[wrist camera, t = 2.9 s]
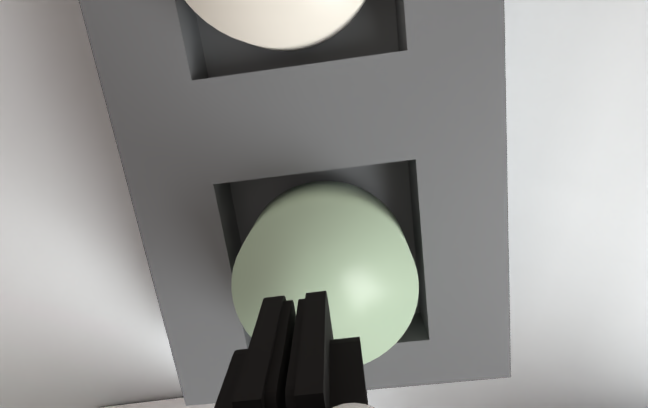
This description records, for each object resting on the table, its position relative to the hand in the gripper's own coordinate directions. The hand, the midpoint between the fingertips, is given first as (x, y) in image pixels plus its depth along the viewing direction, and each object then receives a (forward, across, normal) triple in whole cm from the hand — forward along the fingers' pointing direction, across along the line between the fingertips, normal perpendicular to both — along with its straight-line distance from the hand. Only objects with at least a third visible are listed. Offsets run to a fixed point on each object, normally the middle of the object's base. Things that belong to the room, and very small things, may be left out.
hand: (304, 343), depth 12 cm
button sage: (+5, -1, 0) cm, 5 cm away
